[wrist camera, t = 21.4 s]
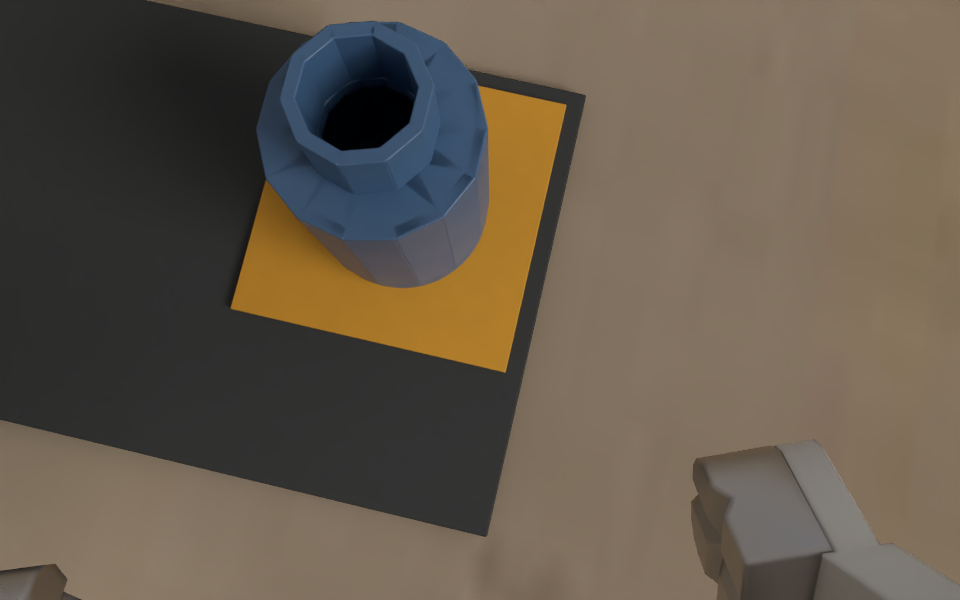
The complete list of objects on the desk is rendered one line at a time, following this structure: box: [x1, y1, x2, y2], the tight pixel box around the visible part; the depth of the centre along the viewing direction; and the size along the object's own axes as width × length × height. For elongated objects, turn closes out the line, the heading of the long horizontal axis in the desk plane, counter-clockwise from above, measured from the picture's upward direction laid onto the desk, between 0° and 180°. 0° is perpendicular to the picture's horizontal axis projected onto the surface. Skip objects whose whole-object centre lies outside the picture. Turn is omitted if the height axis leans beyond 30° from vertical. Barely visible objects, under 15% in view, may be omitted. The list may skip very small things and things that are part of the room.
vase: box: [256, 21, 489, 288], centre depth 20 cm, size 5×5×8 cm
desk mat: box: [0, 0, 586, 537], centre depth 25 cm, size 20×13×1 cm, turn 77°
